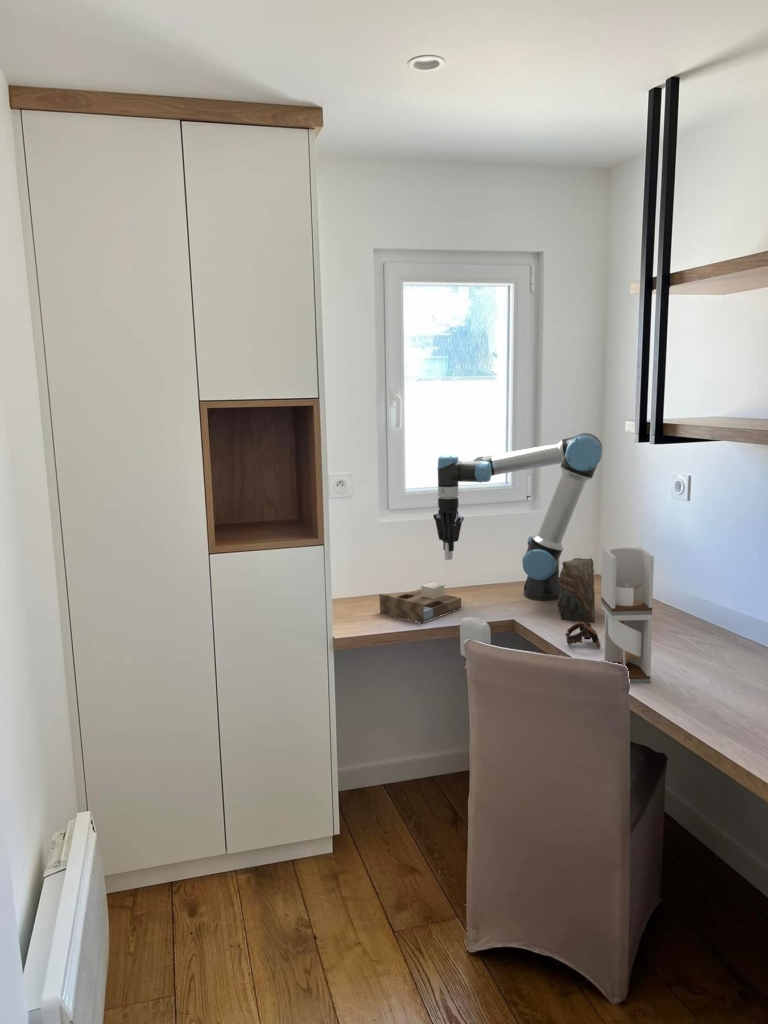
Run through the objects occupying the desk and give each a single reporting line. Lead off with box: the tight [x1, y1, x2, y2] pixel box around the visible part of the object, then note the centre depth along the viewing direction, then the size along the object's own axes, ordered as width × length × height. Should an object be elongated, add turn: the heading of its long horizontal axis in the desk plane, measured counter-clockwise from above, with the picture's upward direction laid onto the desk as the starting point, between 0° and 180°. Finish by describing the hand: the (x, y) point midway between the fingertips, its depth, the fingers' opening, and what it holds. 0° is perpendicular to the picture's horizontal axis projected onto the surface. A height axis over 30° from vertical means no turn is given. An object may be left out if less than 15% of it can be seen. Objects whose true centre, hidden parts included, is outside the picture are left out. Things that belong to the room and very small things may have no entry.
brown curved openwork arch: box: [565, 622, 601, 650], centre depth 235 cm, size 12×10×8 cm
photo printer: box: [459, 616, 492, 658], centre depth 226 cm, size 10×4×12 cm, turn 39°
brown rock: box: [557, 557, 596, 624], centre depth 261 cm, size 13×13×20 cm
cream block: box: [420, 582, 445, 599], centre depth 279 cm, size 6×6×4 cm
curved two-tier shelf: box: [600, 546, 655, 684], centre depth 207 cm, size 11×11×35 cm
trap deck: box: [378, 588, 462, 624], centre depth 275 cm, size 20×22×7 cm
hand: (448, 559), depth 285 cm, fingers closed
